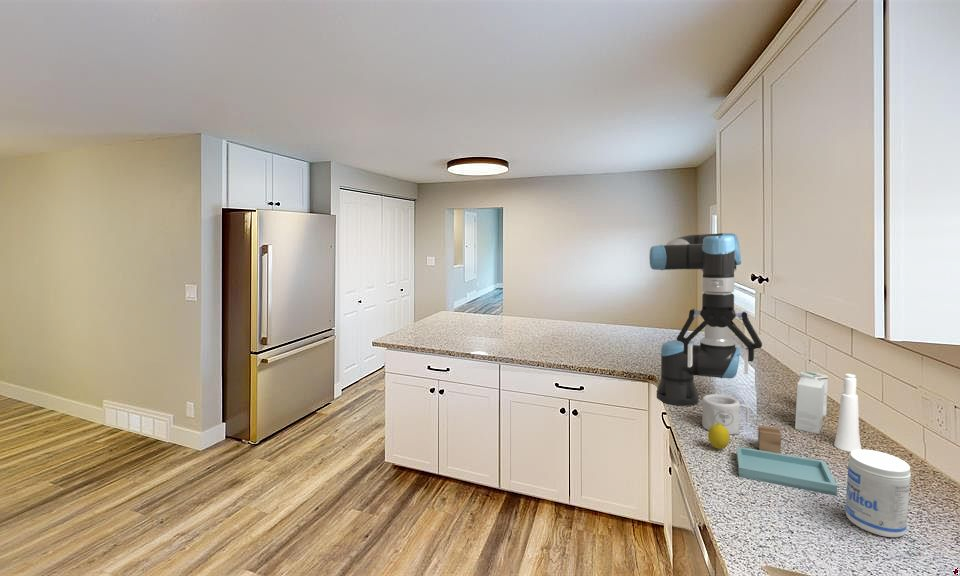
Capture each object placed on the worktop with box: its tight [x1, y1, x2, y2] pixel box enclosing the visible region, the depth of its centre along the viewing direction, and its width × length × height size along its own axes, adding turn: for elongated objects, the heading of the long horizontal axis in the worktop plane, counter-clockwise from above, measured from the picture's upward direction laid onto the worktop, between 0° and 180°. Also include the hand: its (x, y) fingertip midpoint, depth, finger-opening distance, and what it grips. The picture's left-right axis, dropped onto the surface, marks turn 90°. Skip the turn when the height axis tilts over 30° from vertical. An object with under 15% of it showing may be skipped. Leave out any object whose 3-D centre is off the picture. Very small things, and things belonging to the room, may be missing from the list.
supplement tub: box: [845, 448, 912, 538], centre depth 89 cm, size 10×10×15 cm
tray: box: [736, 446, 838, 496], centre depth 111 cm, size 13×20×2 cm, turn 61°
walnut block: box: [757, 424, 782, 454], centre depth 123 cm, size 5×5×6 cm
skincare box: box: [794, 377, 825, 435], centre depth 136 cm, size 8×7×16 cm
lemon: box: [707, 423, 731, 450], centre depth 124 cm, size 6×6×8 cm
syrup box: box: [799, 371, 829, 417], centre depth 146 cm, size 6×6×14 cm
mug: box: [701, 393, 750, 436], centre depth 138 cm, size 14×11×10 cm
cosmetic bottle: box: [833, 373, 862, 453], centre depth 122 cm, size 6×6×22 cm
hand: (717, 369), depth 115 cm, fingers open, 13 cm apart
